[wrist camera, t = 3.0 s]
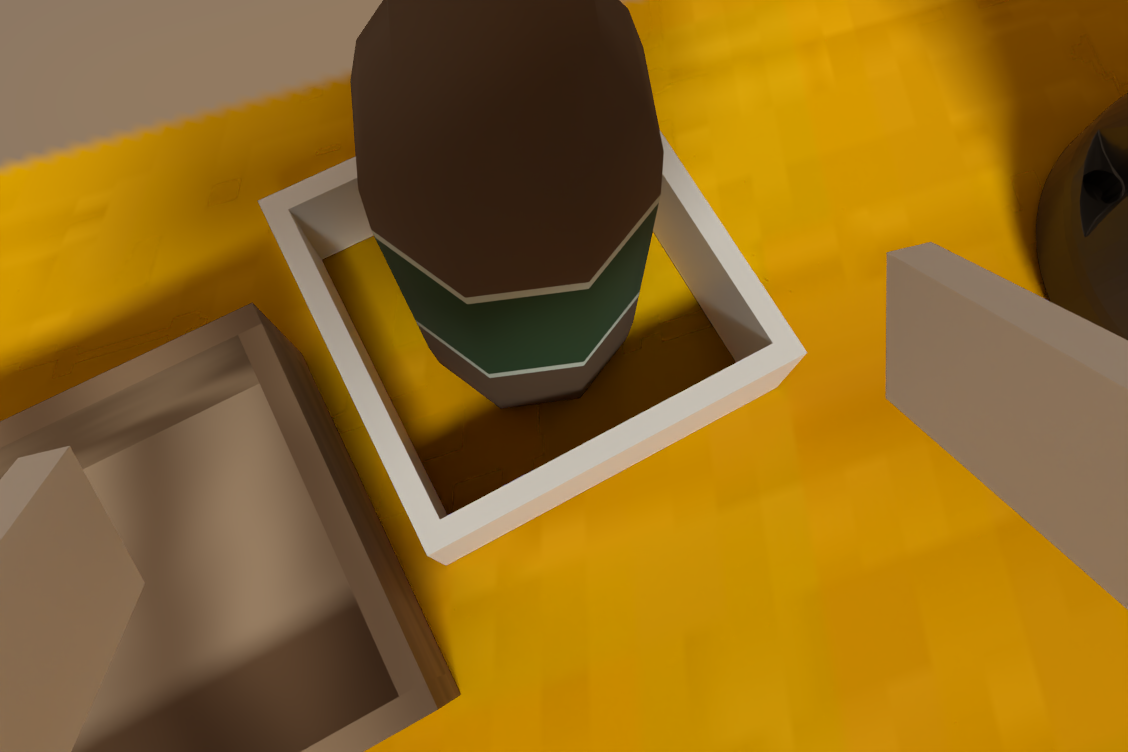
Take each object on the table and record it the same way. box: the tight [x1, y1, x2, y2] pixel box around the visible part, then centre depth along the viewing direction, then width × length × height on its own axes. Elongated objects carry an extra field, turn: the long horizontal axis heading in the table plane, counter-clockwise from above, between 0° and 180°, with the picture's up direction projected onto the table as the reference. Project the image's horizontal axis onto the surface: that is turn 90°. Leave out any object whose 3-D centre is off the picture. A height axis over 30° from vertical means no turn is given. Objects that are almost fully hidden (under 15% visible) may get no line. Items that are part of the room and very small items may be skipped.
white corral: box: [258, 131, 807, 565], centre depth 29 cm, size 14×14×4 cm
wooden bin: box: [0, 303, 461, 752], centre depth 25 cm, size 14×14×5 cm
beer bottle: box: [351, 0, 664, 408], centre depth 19 cm, size 8×8×24 cm
